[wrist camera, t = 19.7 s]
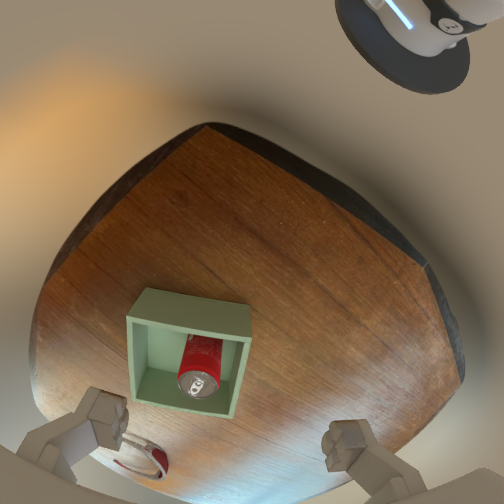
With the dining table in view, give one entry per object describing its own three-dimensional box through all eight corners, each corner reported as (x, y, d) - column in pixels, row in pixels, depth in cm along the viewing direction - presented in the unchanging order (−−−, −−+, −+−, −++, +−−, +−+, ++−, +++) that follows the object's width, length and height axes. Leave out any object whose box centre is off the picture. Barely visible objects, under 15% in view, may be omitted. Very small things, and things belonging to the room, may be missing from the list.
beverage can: (229, 326, 43) (226, 379, 31) (215, 350, 44) (209, 405, 32) (197, 312, 42) (184, 363, 30) (184, 338, 43) (170, 390, 32)
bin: (145, 286, 41) (126, 315, 33) (249, 304, 43) (252, 337, 34) (144, 366, 46) (131, 400, 37) (233, 381, 47) (232, 418, 39)
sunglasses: (175, 474, 57) (169, 488, 52) (118, 455, 59) (111, 467, 54) (167, 440, 52) (160, 457, 47) (102, 418, 54) (93, 431, 49)
